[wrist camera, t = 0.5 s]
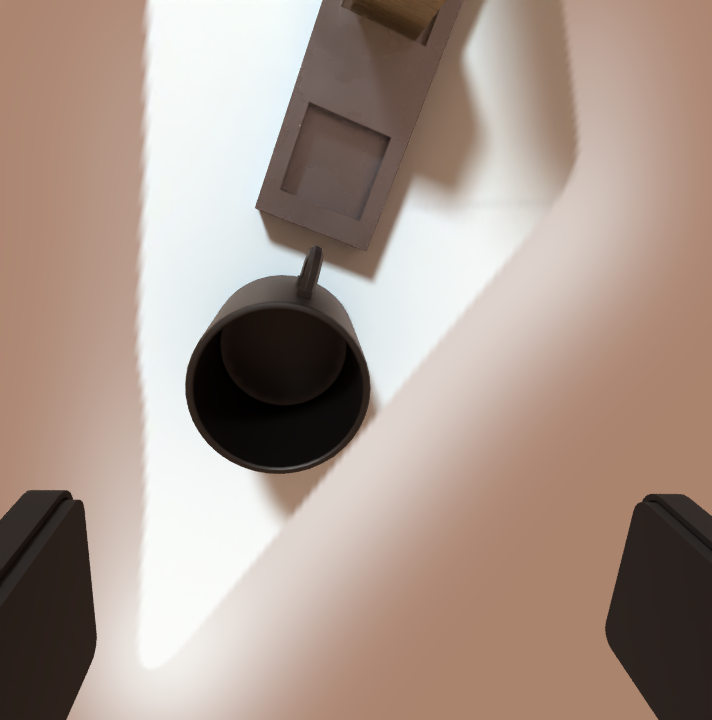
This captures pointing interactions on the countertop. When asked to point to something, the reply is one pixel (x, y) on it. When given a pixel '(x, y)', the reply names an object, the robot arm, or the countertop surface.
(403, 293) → the countertop surface
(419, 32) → the wooden block
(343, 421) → the mug
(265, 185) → the grey slotted board
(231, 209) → the countertop surface
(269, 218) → the countertop surface
